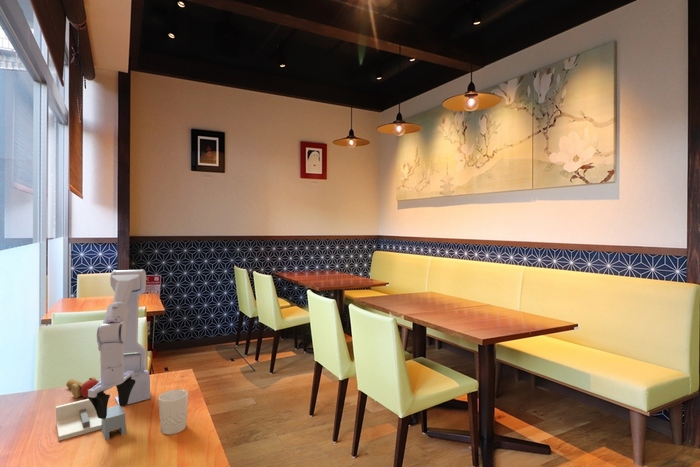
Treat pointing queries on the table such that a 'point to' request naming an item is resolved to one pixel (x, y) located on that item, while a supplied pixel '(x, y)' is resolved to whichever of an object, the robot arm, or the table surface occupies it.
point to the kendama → (81, 387)
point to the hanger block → (114, 421)
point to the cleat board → (76, 419)
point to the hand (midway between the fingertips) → (113, 411)
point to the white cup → (173, 411)
